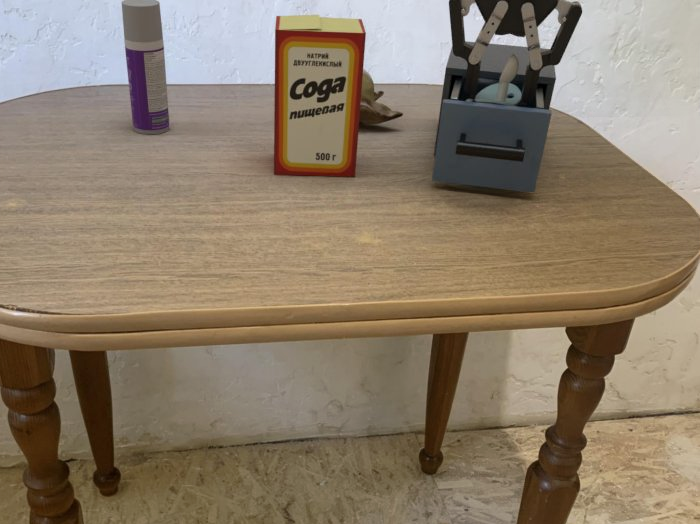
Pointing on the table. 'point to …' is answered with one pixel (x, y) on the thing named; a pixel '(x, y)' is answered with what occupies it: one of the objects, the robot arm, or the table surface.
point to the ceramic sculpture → (373, 104)
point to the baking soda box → (317, 94)
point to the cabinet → (496, 71)
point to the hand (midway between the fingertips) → (498, 99)
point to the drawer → (491, 140)
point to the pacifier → (502, 87)
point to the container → (146, 65)
